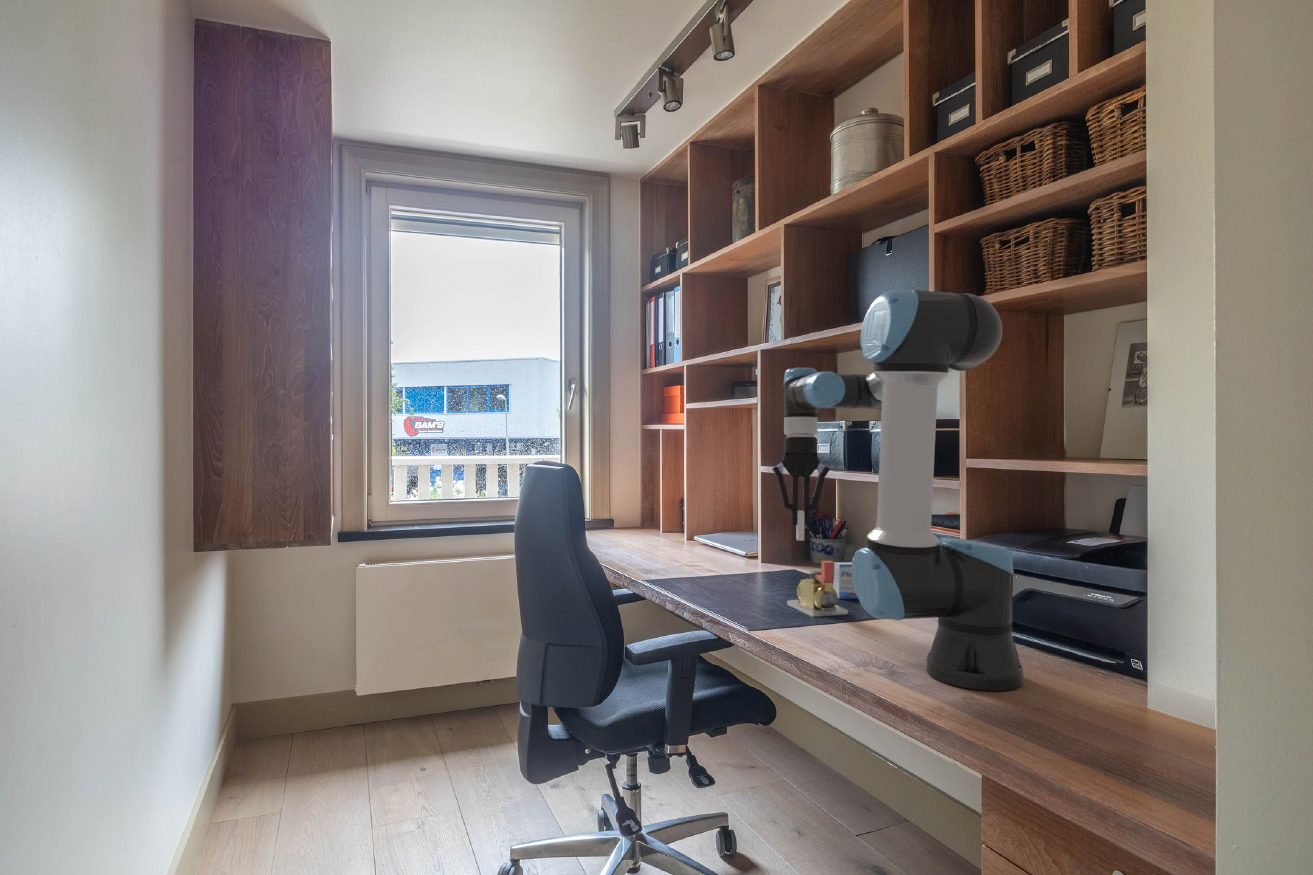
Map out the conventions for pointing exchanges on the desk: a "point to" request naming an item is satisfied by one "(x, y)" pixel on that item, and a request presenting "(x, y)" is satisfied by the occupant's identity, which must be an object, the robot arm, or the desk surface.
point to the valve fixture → (816, 599)
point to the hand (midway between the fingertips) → (800, 539)
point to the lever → (824, 572)
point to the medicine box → (844, 580)
